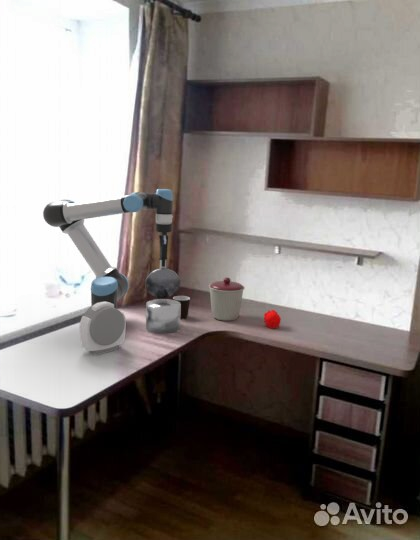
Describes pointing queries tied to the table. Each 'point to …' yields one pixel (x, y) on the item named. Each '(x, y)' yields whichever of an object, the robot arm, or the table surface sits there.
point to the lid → (162, 283)
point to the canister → (226, 299)
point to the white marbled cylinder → (163, 316)
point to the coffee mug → (183, 305)
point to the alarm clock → (102, 328)
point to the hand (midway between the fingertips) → (162, 272)
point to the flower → (272, 319)
